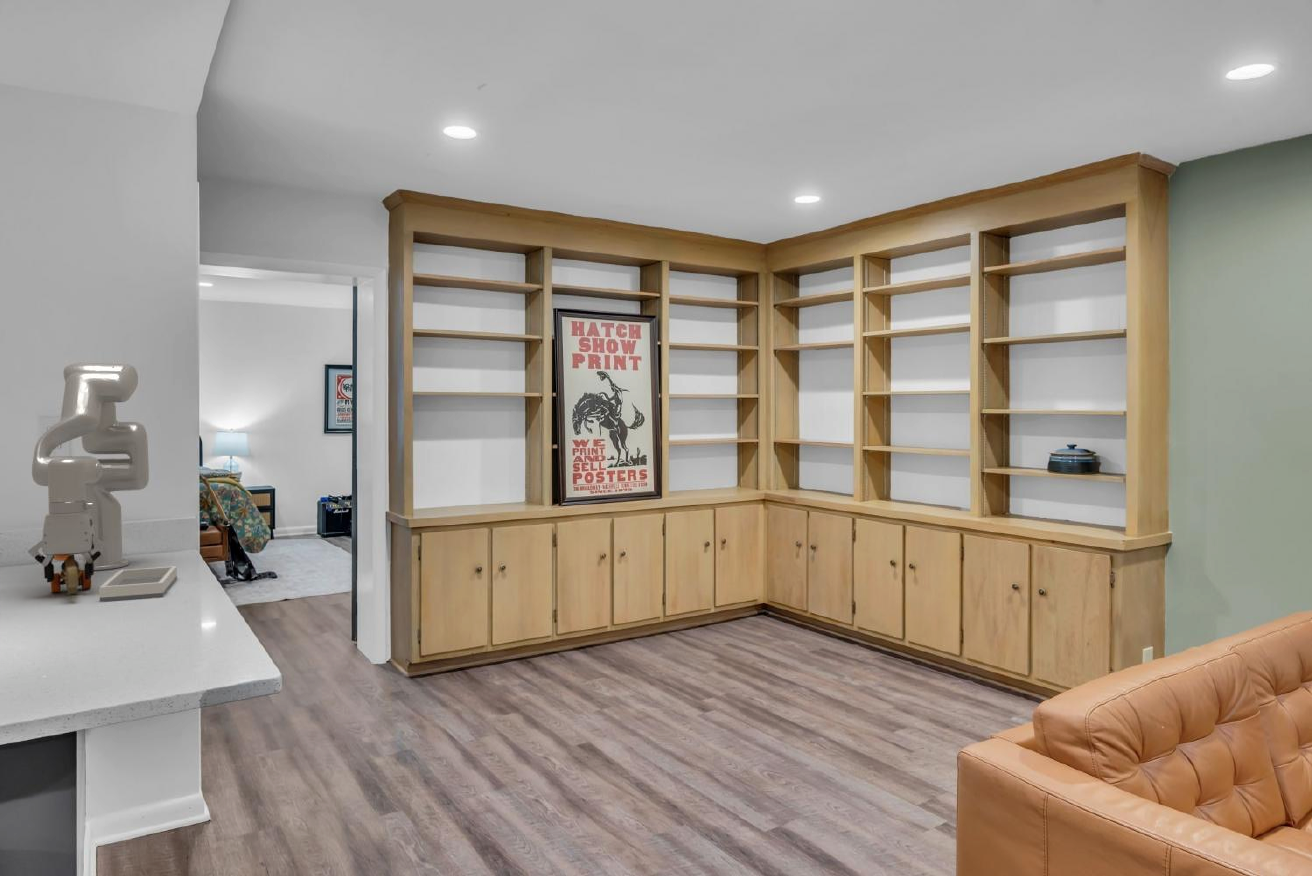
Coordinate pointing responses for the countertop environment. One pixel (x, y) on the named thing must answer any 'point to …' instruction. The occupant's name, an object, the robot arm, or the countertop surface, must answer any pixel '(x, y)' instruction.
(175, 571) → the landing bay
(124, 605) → the countertop surface
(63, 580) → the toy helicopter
